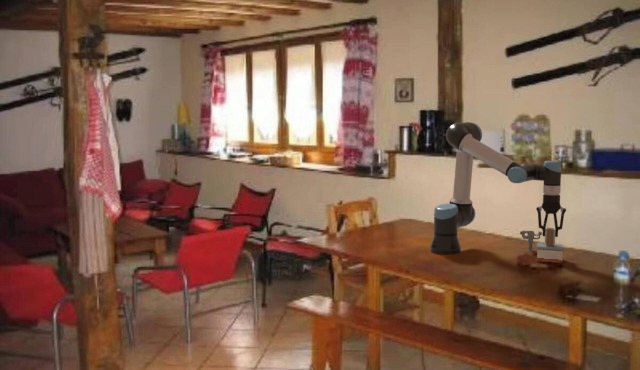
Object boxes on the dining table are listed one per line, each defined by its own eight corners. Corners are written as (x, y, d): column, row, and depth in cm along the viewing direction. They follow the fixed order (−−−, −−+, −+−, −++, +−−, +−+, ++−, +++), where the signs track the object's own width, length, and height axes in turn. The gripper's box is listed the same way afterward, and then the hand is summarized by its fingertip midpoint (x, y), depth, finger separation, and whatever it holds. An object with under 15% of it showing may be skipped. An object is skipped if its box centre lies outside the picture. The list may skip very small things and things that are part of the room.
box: (536, 261, 301) (537, 249, 300) (537, 258, 308) (538, 245, 308) (561, 263, 297) (562, 251, 296) (562, 259, 304) (562, 247, 304)
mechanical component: (541, 251, 321) (542, 232, 320) (520, 251, 323) (520, 231, 322) (540, 250, 324) (541, 230, 322) (519, 249, 326) (520, 230, 324)
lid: (536, 250, 300) (536, 229, 299) (537, 246, 308) (537, 226, 307) (562, 252, 296) (563, 231, 295) (562, 248, 304) (563, 227, 303)
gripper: (533, 194, 298) (531, 243, 301) (570, 196, 292) (568, 246, 295) (533, 192, 305) (532, 240, 308) (570, 193, 299) (568, 242, 302)
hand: (549, 243), depth 302 cm, fingers closed on lid, 3 cm apart
